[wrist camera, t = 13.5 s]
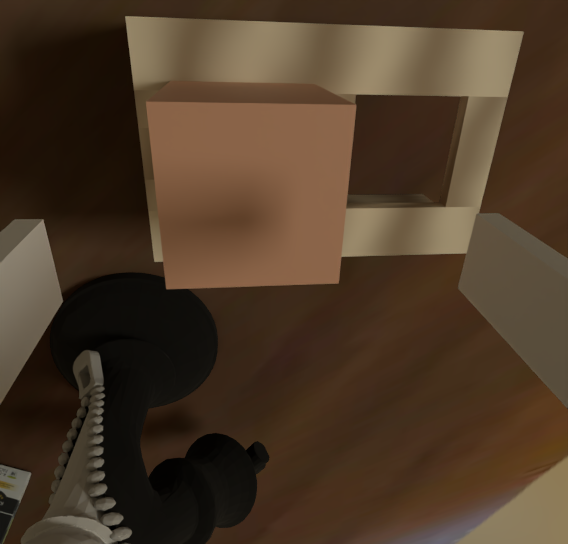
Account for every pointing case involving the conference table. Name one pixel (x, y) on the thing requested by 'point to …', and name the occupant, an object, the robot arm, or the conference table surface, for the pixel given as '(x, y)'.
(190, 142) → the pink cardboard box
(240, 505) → the sculpture
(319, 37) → the mottled slotted frame
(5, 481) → the tea box
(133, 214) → the conference table surface
